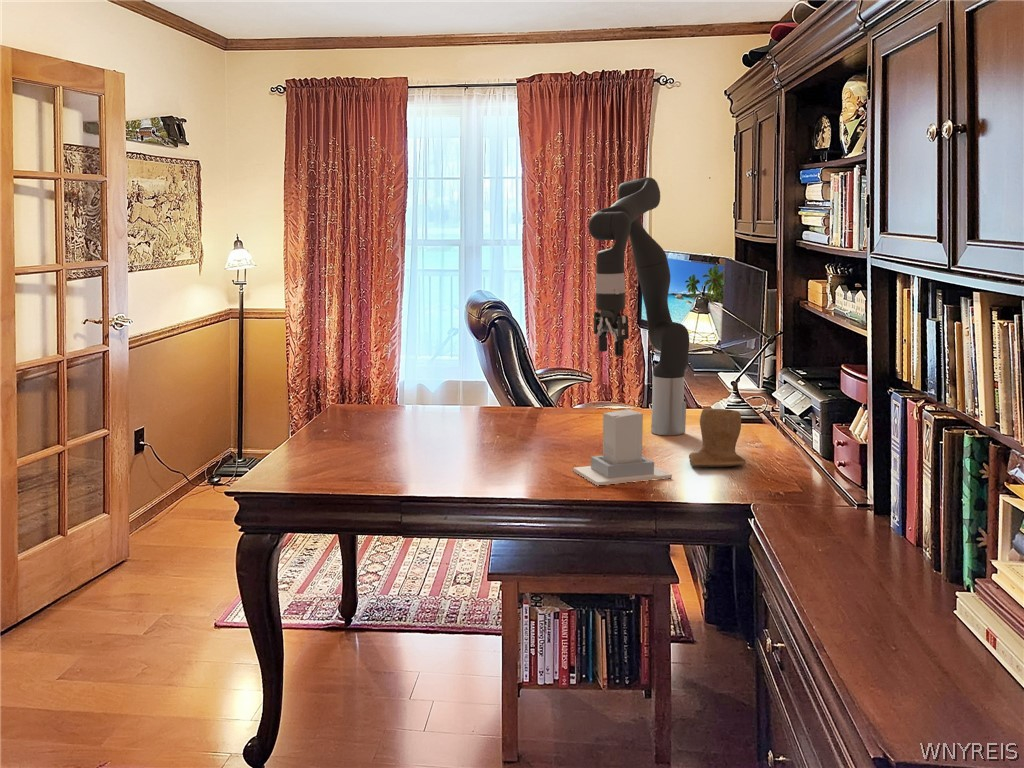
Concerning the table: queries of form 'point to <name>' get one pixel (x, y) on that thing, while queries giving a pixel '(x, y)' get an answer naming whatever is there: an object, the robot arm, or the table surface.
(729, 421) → the tan flared vase
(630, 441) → the skincare box
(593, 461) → the socket board
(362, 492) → the table surface
